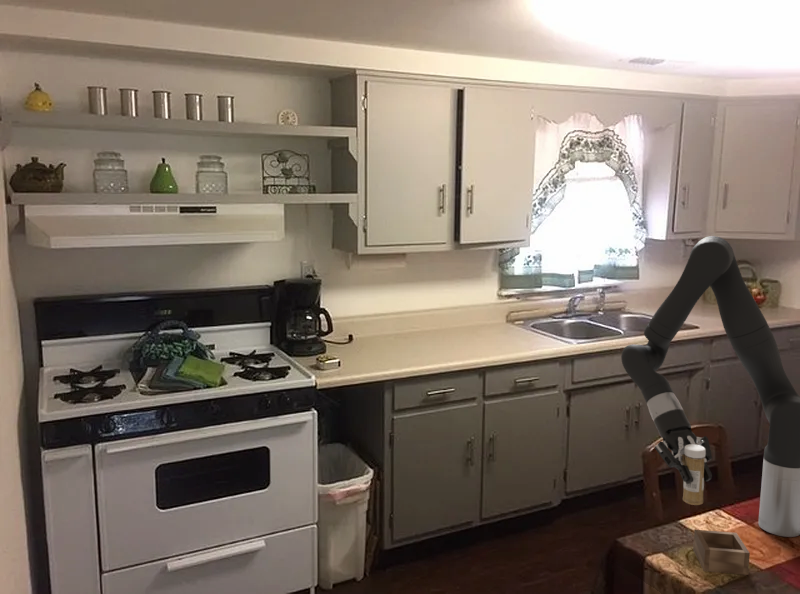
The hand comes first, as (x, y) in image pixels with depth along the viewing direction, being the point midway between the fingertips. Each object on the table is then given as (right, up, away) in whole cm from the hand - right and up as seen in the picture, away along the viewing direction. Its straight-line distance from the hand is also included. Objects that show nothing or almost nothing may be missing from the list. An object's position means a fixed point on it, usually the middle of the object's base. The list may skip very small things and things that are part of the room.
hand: (699, 480), depth 157 cm
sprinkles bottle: (0, -6, +3) cm, 6 cm away
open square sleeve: (+2, -16, -7) cm, 18 cm away
